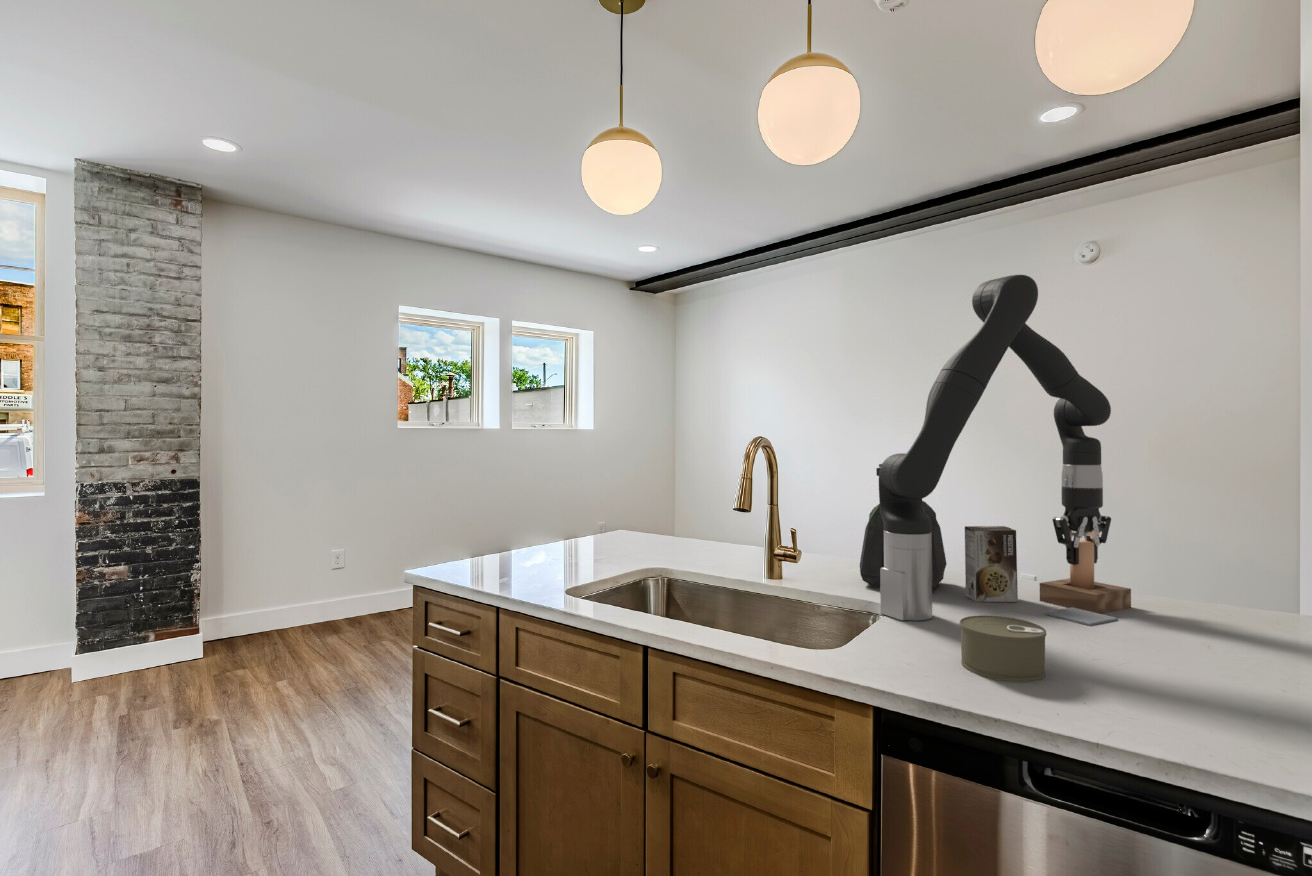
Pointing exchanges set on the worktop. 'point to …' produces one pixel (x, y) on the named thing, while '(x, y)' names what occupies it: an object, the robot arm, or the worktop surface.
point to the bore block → (1086, 596)
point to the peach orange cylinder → (1083, 567)
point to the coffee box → (991, 564)
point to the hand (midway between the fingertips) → (1082, 563)
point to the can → (1003, 648)
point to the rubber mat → (1080, 616)
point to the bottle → (875, 547)
